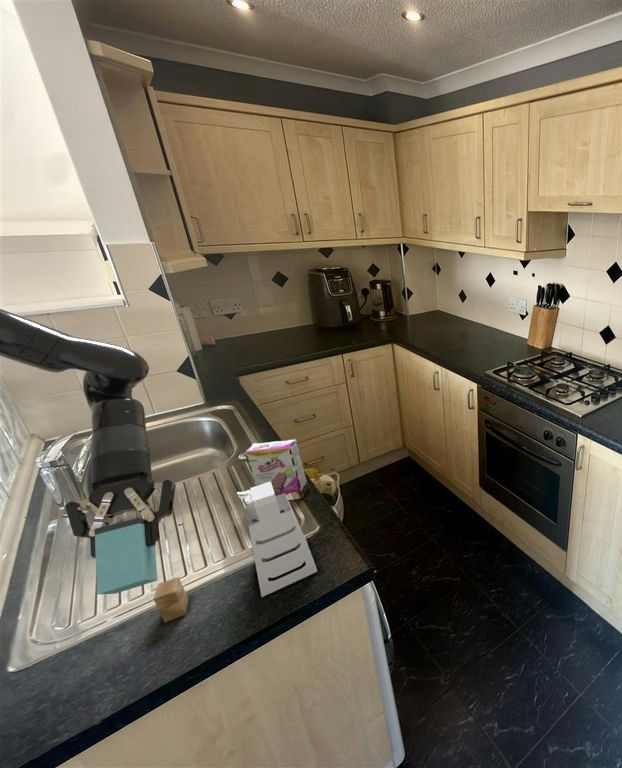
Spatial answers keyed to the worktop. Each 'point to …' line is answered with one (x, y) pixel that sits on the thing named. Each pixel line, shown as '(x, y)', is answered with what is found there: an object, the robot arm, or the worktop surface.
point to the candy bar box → (277, 465)
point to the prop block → (171, 599)
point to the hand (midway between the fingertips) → (127, 552)
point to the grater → (276, 540)
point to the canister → (123, 557)
